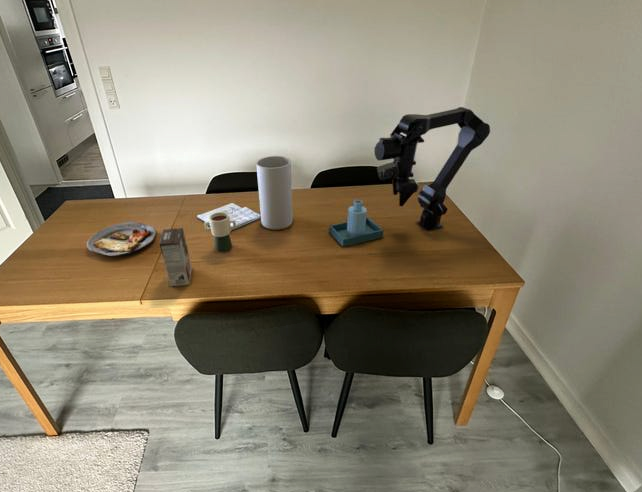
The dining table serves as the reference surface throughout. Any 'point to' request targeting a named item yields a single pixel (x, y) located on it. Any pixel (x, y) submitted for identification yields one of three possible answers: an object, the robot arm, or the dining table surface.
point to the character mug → (221, 230)
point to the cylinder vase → (275, 192)
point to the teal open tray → (341, 236)
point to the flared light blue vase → (356, 219)
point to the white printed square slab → (234, 214)
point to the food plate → (121, 238)
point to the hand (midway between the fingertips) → (397, 200)
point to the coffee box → (176, 256)
